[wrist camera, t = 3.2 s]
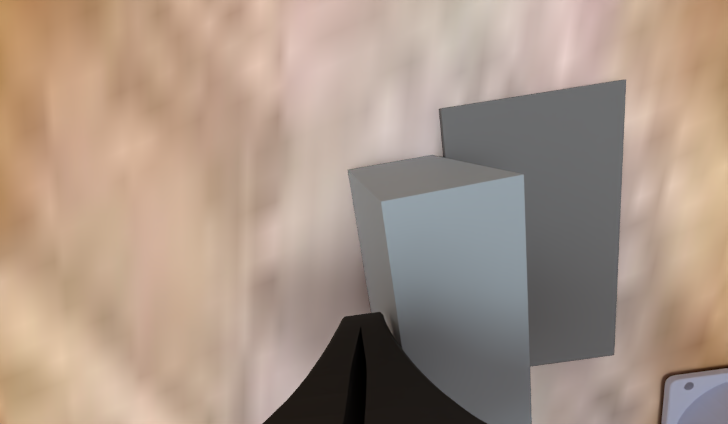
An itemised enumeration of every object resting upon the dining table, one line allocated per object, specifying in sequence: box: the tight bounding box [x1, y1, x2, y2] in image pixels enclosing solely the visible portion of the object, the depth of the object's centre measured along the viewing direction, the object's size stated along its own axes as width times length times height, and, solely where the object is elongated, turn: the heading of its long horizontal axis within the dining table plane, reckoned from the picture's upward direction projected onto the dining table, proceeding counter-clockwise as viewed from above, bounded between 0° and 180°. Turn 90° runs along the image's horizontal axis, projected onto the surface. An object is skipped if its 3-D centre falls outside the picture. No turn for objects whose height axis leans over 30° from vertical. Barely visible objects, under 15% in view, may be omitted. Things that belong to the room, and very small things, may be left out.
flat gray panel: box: [439, 80, 626, 366], centre depth 17 cm, size 8×14×1 cm, turn 9°
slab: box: [348, 155, 532, 424], centre depth 14 cm, size 4×10×7 cm, turn 9°
